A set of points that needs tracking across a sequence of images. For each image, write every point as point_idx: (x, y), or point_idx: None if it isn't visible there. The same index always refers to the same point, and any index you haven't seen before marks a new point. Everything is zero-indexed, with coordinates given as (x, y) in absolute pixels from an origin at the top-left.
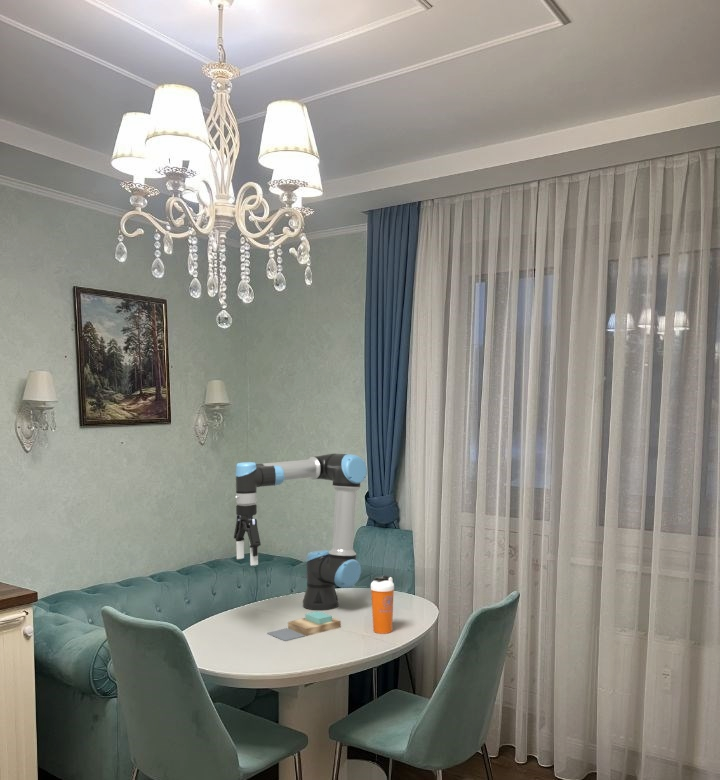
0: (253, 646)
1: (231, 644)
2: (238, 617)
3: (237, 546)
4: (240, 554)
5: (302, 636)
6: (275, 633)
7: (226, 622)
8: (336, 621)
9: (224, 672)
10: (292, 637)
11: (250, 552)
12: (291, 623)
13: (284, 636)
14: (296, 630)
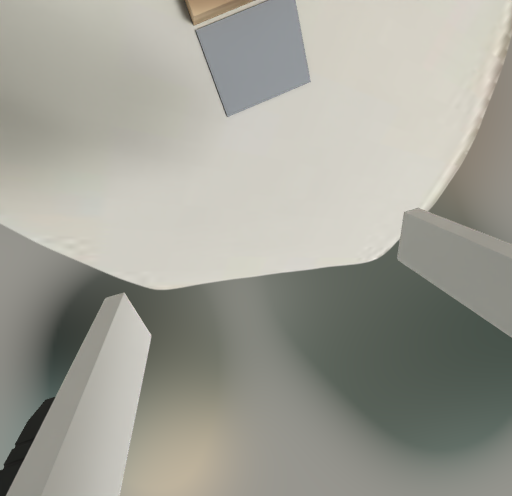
0: (309, 171)
1: (277, 215)
2: (26, 170)
3: (123, 460)
4: (131, 346)
5: (295, 5)
6: (242, 91)
7: (88, 211)
8: None
9: None
10: (295, 48)
11: (502, 322)
12: (214, 8)
13: (278, 71)
14: (239, 4)
